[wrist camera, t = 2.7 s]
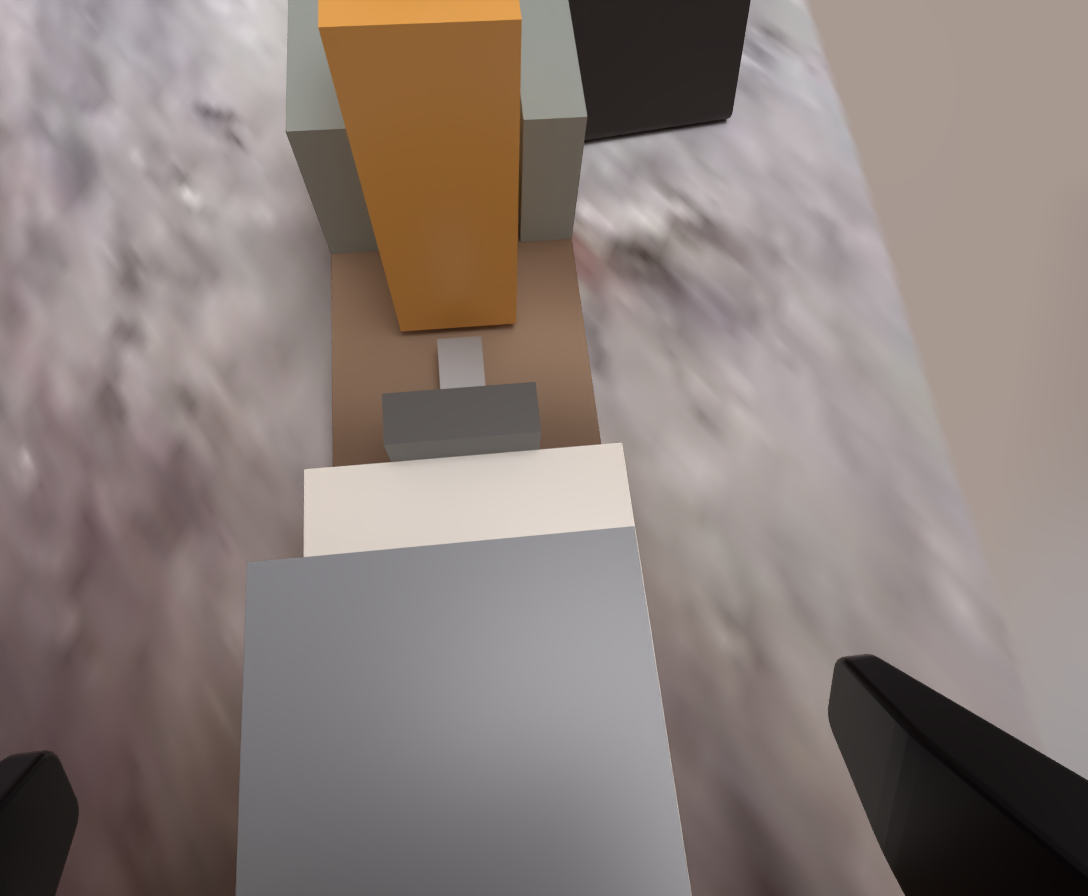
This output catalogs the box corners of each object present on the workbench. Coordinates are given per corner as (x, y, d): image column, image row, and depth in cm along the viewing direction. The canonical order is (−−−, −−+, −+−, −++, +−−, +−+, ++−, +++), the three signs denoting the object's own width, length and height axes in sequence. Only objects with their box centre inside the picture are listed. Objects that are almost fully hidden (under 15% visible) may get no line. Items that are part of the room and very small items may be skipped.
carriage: (675, 901, 13) (993, 1232, 4) (324, 949, 12) (-70, 1421, 4) (605, 424, 16) (713, 87, 8) (323, 448, 15) (103, 113, 7)
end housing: (571, 238, 19) (587, 116, 15) (331, 253, 18) (285, 131, 14) (554, 116, 20) (564, -23, 16) (330, 127, 20) (288, -14, 16)
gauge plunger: (516, 323, 17) (523, -39, 9) (400, 331, 17) (302, -32, 9) (501, 186, 19) (495, -234, 11) (394, 192, 19) (304, -231, 10)
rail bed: (671, 1023, 14) (699, 1072, 12) (355, 1070, 14) (327, 1130, 12) (551, 156, 22) (555, 96, 19) (342, 167, 21) (323, 107, 19)
